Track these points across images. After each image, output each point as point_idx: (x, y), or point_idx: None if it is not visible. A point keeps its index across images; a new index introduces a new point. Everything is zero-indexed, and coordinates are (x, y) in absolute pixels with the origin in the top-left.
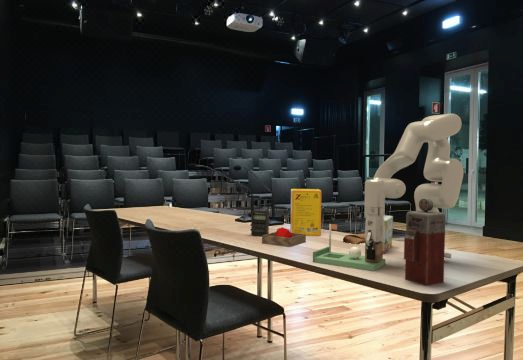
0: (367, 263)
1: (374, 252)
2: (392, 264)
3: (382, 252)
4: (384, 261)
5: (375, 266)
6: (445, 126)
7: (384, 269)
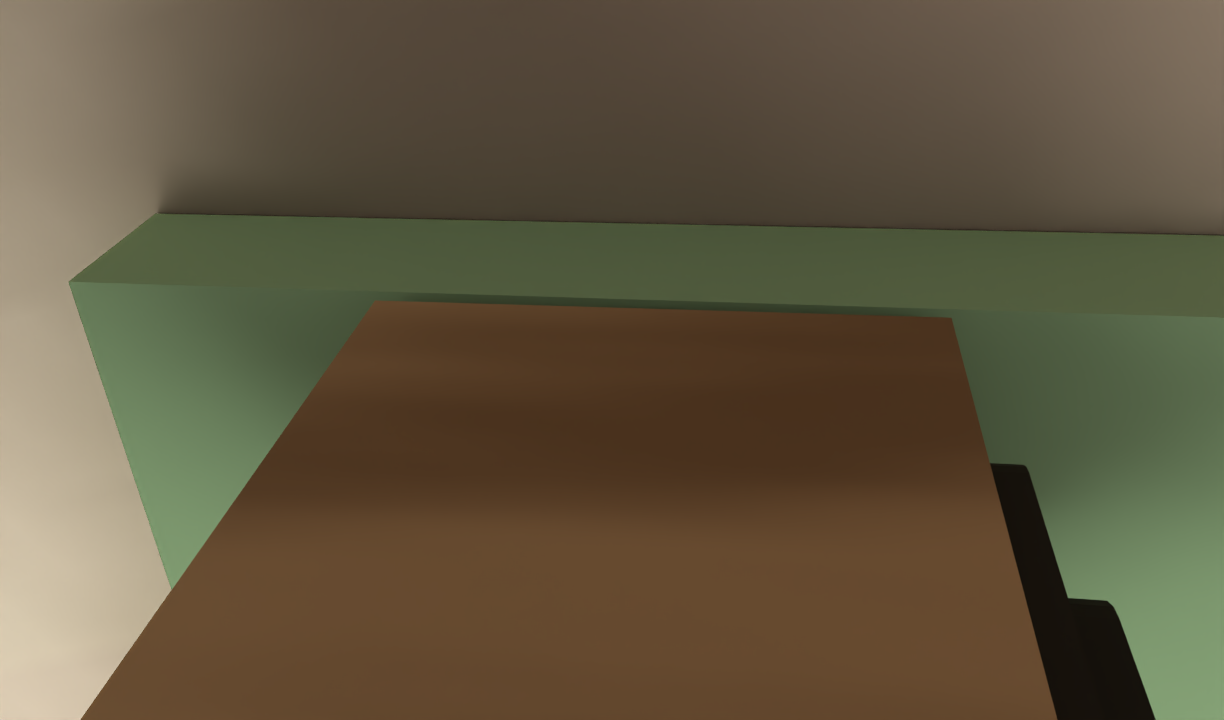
0: (1111, 554)
1: (1084, 699)
2: (39, 16)
3: (307, 463)
4: (202, 255)
5: (1154, 284)
6: None
7: (884, 13)
